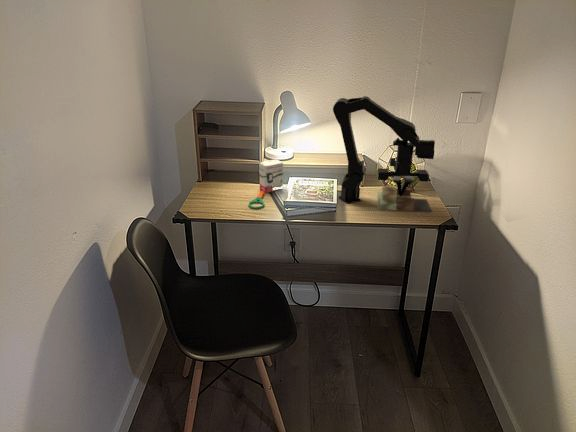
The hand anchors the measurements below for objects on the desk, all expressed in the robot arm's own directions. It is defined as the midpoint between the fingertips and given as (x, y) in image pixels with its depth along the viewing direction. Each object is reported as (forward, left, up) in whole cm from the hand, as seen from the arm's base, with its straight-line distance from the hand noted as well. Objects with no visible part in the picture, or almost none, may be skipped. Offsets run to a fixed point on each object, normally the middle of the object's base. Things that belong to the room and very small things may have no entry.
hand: (400, 195), depth 189 cm
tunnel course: (+1, 0, -4) cm, 4 cm away
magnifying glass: (-49, +25, -4) cm, 55 cm away
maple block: (-4, +2, -1) cm, 4 cm away
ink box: (-39, +34, -4) cm, 52 cm away
